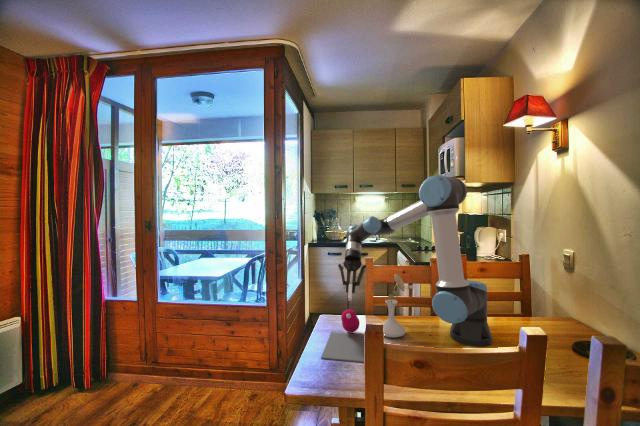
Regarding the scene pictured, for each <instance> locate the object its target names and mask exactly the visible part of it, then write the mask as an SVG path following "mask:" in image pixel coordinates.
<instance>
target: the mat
mask: <svg viewBox="0 0 640 426" xmlns="http://www.w3.org/2000/svg"><path fill="white" fill-rule="evenodd" d="M364 335H365V334H363V333H362V334H361V333H351V332H347V333H346V332H337V331H335V332H334V331H333V332H332V331H331V332H330V334H329V337H328V339H327V342H326V344H325V346H324V349H323V352H322V355H321V357H320V358H321V360H332V361H340V362H341V361H342V362H354V363H364ZM364 364H365V363H364Z"/></svg>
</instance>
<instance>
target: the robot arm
mask: <svg viewBox="0 0 640 426" xmlns="http://www.w3.org/2000/svg"><path fill="white" fill-rule="evenodd" d="M467 195H468V188H467V186H466V184H465V182H464V181H462V180H461V179H459V178H457V177H454V176H453V177H452V176H445V175H443V174H442V175H431V176H428V177H427V178H426V179H425V180H423V182H422V183H421V185H420V187H419V191H418V197H419V199H420V200H418V201H416V202H413V203H412V204H410V205H408V206H406V207H404V208H402V209H400V210H398V211H397V212H394V213H393V214H390V215H388V216H387V217H385V218H383V219H379V218H377V217H376V216H373V215H371V216H369V217H368V218H366V219H364V220H363V221H362V222H361V223H360V224H358V225H357V224H354V225H350V226H349V227H348V229H347V233H346V241H345V252H344V253H345V254H344V261H343V262H342V264H341V263H339V264H338V265H337V267H338V270H339V271H340V276H341V281H342V282H341V283H342V285H343V286H345V292H346V293H347V301H348V302H352V301H353V294H355V293H356V287H360V285H361V282H362V278H363V276H364V274H365V272H366V270H367V265H366V264H363V263H362V247H363V245H362V243H363V242H364V241H366V240H367V239H369V238H370V237H371V236H382V235H383V236H384V235H388V236H389V235H392V234H394V233H395V232H396V230H399V229H401V228H404V227H405V226H408V225H410V224H412V223H414V222H416V221H419V220H421V219H423V218H425V217H427V216H430V217H431V224H432V231H433V239H434V247H435V248H434V249H435V257H436V258H435V259H436V265H437V272H438V274H437V275H438V281H437V282H436V283H435V292H436V293H435V294H434V296H433V297H432V300H431V305H432V310H433V312H434V313H435V315H436V316H437V317H439V319H440V320H441V321H443V322H445V323H448V324H451V326H450V328H449V336H450V338H451V339H452V340H454V341H455V342H457V343H460V344H463V345H465V346H471V347H488V346H490V345H492V344H493V334H492V332H491V329H490V326H489V323H488V286H487V284H486V283H484V282H481V281H476V280H470V279H465V277H464V276H465V275H464V269H463V262H462V261H463V260H462V253H461V246H460V238H459V231H458V230H459V229H458V223H457V222H458V221H457V213H458V212H459V211H460V204H462V203H463V202H464V201H465V200H466V197H467ZM344 268H345V269H346V271H347V272H346V278H345V273H344ZM359 269H360V271H359V273H358V276H357V272H358V270H359ZM351 274H352V282H351Z"/></svg>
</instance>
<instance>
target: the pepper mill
mask: <svg viewBox="0 0 640 426" xmlns="http://www.w3.org/2000/svg"><path fill="white" fill-rule="evenodd" d="M340 318H341V319H340V320H341V324H342V325H341V326H342V328H343V330H345V331H346V332H347V333H354V332H356V331H357V330H358V329H359V327H360V320H359V319H360V318H358V316H357V313H356V311H354V310H352V309H345V310H344V311H343V312H342V313H341V317H340Z"/></svg>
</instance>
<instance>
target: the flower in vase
mask: <svg viewBox="0 0 640 426" xmlns="http://www.w3.org/2000/svg"><path fill="white" fill-rule="evenodd" d="M393 277H394V281H395V285H394V287H393V290H392V294H391V293H390V294H389V295H388V296H387V297H388V298H390V299H385V300H384V301H385V303H386V305H387V309H388V317H387V319H386V320H385V321H384V322H382V323H381V324H383V325H384V334H385V336H384V337H387V338H401V337H403V336H405V334H406V333H407V332H406V329H405V328H404V326H403V325H401V324H400V323H399V322H398V321H397V320H396V317H395V309H396V308H395V307H396V305H397V304H398V300H396V299H393V298H394V297H399V292H398V291H397V290H395V289H396V287H398V289H399V291H402V292H405V291H406V286H405V282H404V280H403V278H402V277H401V276H400V275H399V273H395V274H394V276H393Z"/></svg>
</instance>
